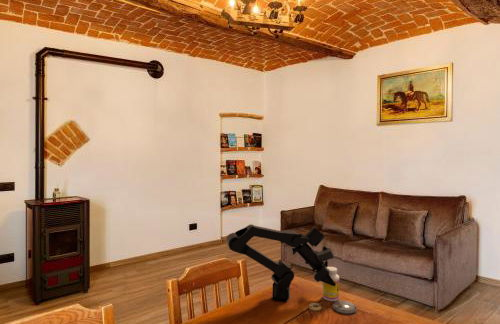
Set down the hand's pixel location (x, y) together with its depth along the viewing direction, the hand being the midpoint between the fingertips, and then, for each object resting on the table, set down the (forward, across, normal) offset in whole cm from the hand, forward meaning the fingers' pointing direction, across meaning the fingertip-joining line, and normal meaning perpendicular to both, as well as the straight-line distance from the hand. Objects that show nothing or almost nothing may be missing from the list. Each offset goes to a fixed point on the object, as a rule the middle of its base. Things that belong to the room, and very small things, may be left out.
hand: (334, 282), depth 147 cm
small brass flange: (-1, -10, +11) cm, 15 cm away
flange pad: (+7, -8, +3) cm, 12 cm away
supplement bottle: (+4, 0, +6) cm, 7 cm away
